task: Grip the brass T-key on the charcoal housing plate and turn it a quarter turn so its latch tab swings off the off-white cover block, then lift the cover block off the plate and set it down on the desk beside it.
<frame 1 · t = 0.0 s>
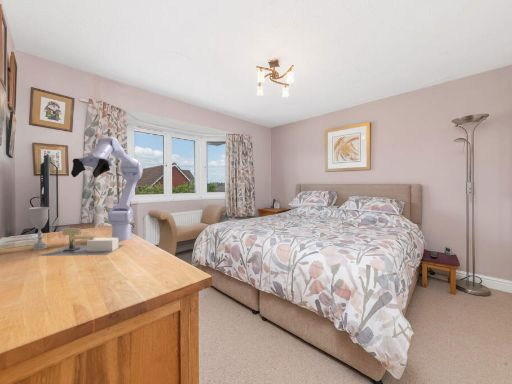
hand: (83, 175, 87), 32 cm above the table, tool tilted 50°, fingers open, 7 cm apart
housing plate: (86, 252, 97), on the table
t key: (79, 238, 97), point 6 cm above the table, hinge at 0.0°
cover: (103, 249, 98), point 1 cm above the table, touching housing plate
chalice: (39, 248, 102), on the table
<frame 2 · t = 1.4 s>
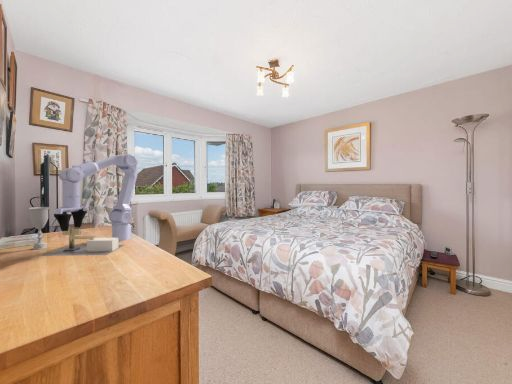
hand: (71, 229, 96), 10 cm above the table, tool pointing down, fingers open, 7 cm apart
nothing on the table moved.
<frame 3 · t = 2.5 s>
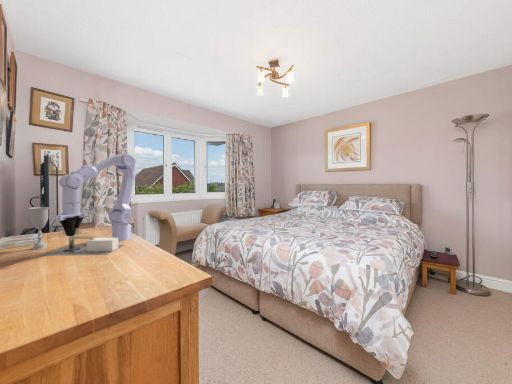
hand: (71, 235, 96), 7 cm above the table, tool pointing down, fingers closed on t key, 2 cm apart
t key: (79, 238, 97), point 6 cm above the table, hinge at 0.0°, touching gripper
everything else where it was.
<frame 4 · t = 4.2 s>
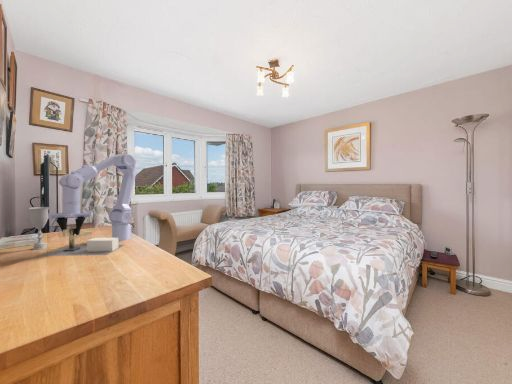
hand: (71, 235, 96), 7 cm above the table, tool pointing down, fingers closed on t key, 4 cm apart
t key: (78, 236, 99), point 6 cm above the table, hinge at 75.3°, touching gripper
everything else where it was.
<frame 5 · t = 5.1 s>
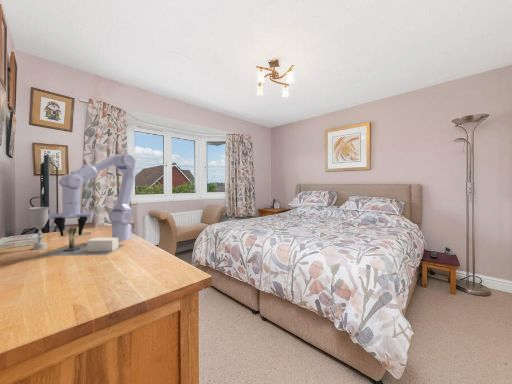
hand: (71, 235, 96), 7 cm above the table, tool pointing down, fingers open, 5 cm apart
t key: (77, 236, 99), point 6 cm above the table, hinge at 79.0°
everything else where it was.
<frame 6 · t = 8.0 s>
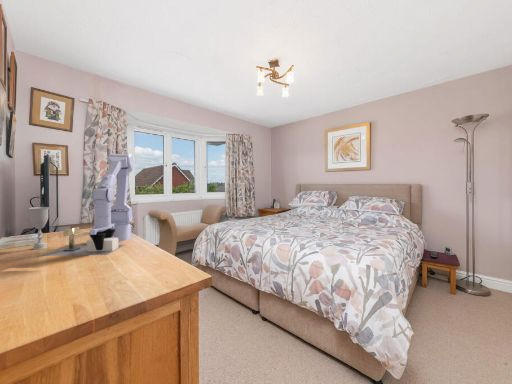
hand: (103, 247, 98), 2 cm above the table, tool pointing down, fingers closed on cover, 5 cm apart
t key: (77, 236, 99), point 6 cm above the table, hinge at 79.9°
cover: (103, 249, 98), point 1 cm above the table, touching gripper, housing plate
everything else where it was.
when the fingers open (2 cm above the table, at t = 12.2 s): cover moves 2 cm, point 1 cm above the table.
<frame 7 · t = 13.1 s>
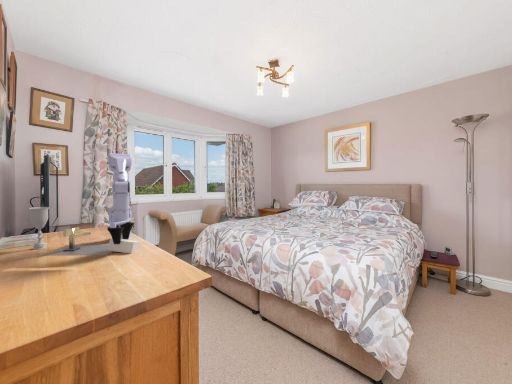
hand: (121, 241, 97), 5 cm above the table, tool pointing down, fingers open, 7 cm apart
cover: (123, 251, 96), point 1 cm above the table, tilted 11°, touching gripper
everything else where it was.
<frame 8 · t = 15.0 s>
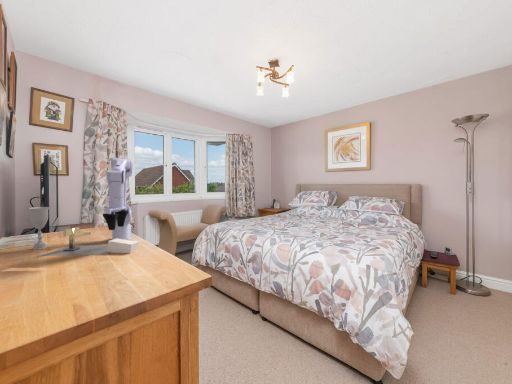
hand: (116, 228, 102), 9 cm above the table, tool pointing down, fingers open, 7 cm apart
cover: (122, 251, 96), point 1 cm above the table, tilted 6°, touching housing plate
everything else where it was.
at the end: t key at +80° (first picture: +0°); cover inside the target area (2.2 cm from its centre), point 0.6 cm above the table; cover tilted 6° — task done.
